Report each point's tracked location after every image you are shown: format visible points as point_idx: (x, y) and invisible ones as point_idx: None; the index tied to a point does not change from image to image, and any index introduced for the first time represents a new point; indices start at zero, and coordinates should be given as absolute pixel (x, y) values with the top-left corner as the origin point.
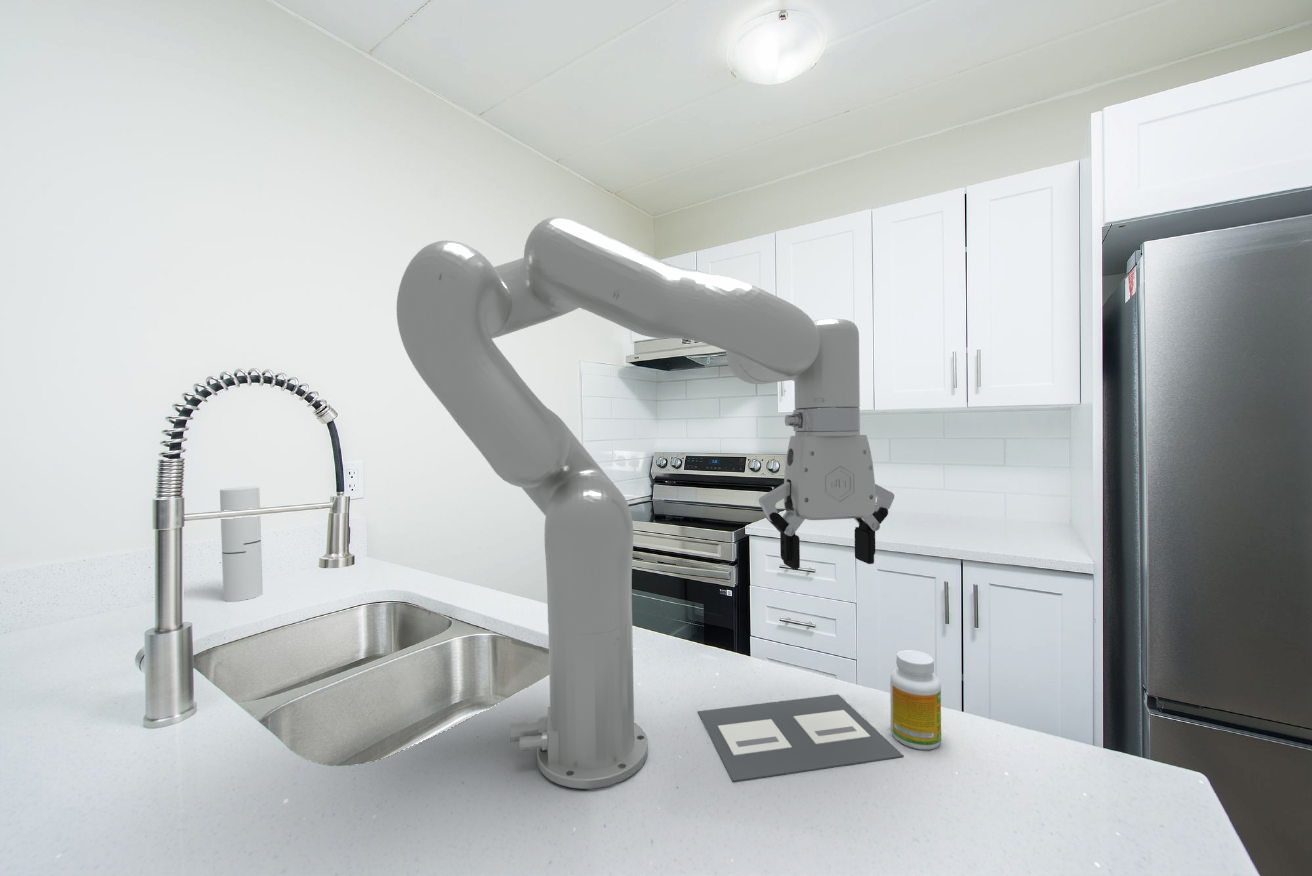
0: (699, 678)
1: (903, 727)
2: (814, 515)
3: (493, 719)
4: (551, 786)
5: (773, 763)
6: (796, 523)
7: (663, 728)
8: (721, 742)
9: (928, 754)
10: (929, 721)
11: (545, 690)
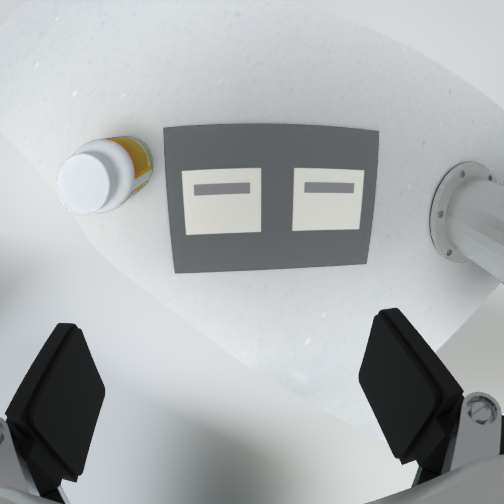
0: (332, 333)
1: (144, 151)
2: (484, 485)
3: None
4: None
5: (328, 144)
6: (474, 448)
7: (407, 239)
8: (366, 197)
9: (131, 130)
10: (113, 137)
11: (462, 317)
